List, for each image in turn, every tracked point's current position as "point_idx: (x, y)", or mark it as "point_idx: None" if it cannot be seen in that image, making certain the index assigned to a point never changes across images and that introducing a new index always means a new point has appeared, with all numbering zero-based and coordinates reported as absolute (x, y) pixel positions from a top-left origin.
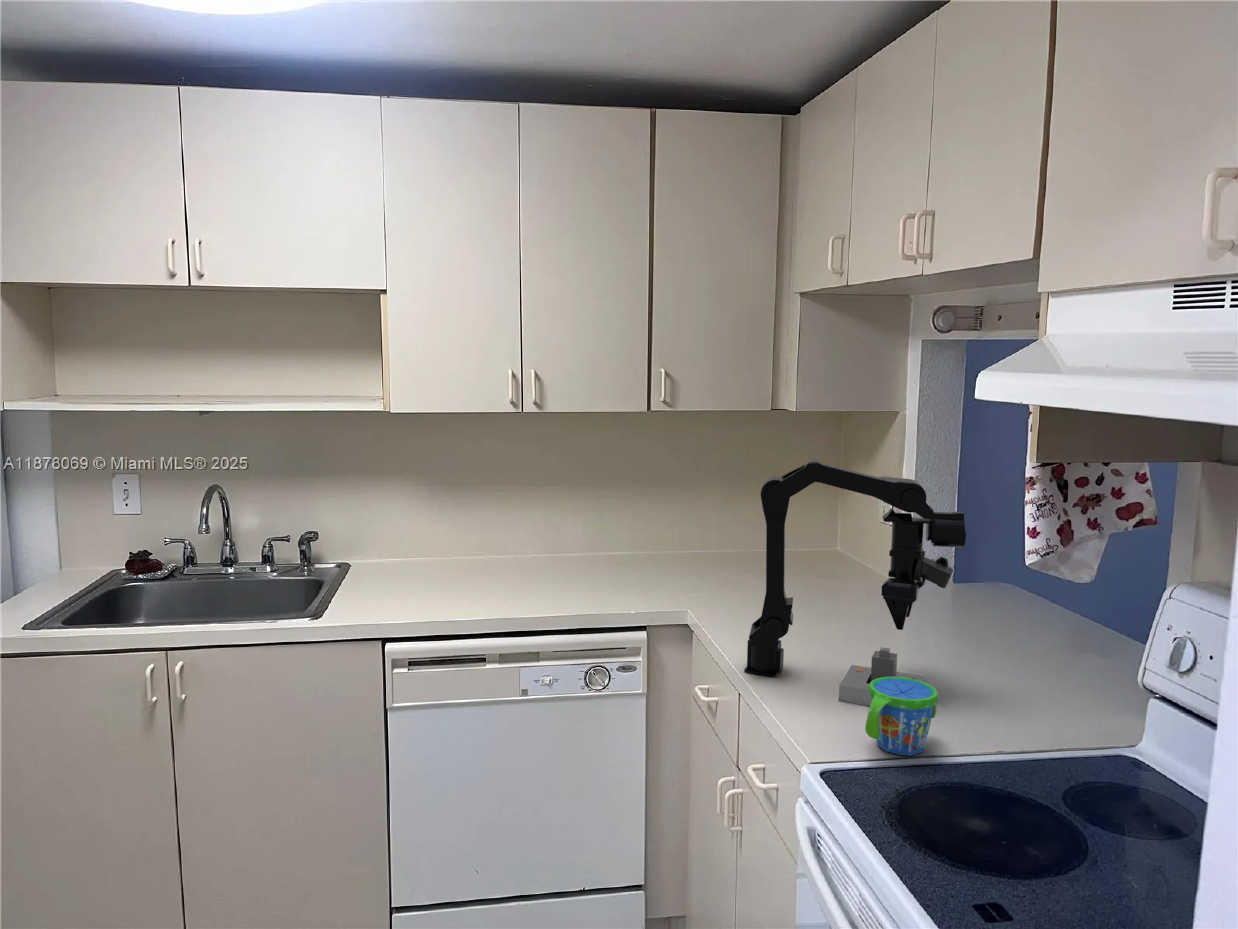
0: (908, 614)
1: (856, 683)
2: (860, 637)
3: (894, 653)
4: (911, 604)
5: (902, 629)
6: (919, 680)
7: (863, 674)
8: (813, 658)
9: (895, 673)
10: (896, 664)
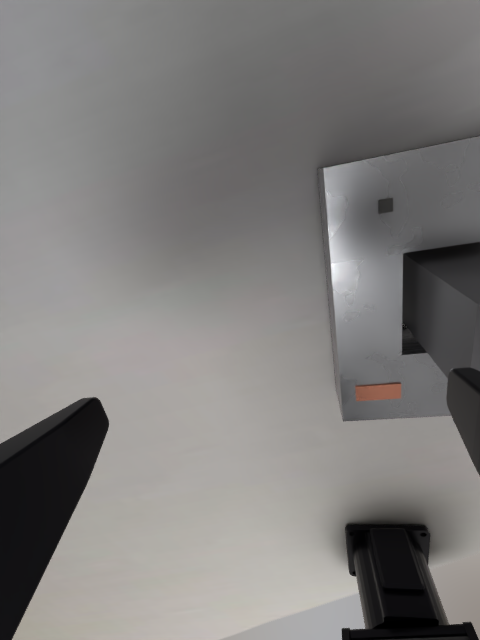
0: (86, 411)
1: None
2: None
3: (476, 318)
4: (12, 463)
5: (468, 368)
6: (392, 177)
7: (425, 372)
8: (237, 489)
9: (466, 270)
10: (464, 284)
